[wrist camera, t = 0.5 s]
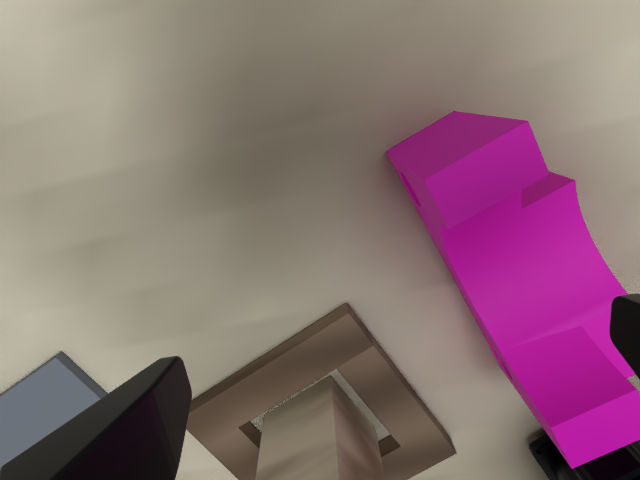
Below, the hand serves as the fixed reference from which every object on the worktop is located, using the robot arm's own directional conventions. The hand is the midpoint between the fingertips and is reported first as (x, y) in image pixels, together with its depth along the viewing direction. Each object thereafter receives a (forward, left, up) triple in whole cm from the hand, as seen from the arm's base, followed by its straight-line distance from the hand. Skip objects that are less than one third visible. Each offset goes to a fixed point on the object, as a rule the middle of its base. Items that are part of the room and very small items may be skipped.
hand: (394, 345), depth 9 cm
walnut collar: (-11, +9, -14) cm, 20 cm away
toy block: (-7, -5, -14) cm, 17 cm away
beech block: (-11, +9, -14) cm, 20 cm away
